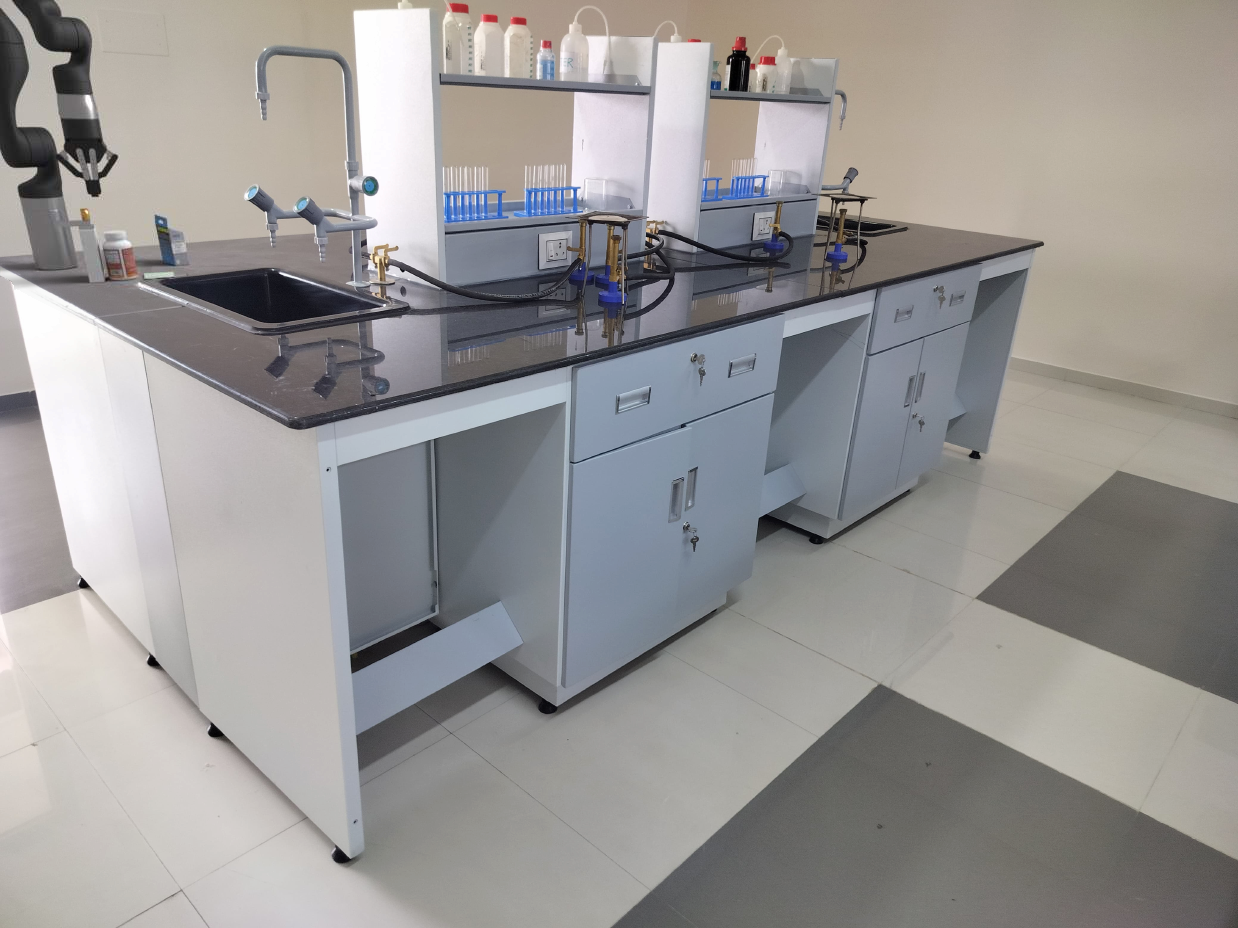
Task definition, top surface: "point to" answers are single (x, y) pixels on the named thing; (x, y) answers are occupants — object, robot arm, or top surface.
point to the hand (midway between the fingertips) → (95, 196)
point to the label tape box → (171, 243)
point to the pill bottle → (119, 256)
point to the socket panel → (92, 253)
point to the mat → (158, 275)
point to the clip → (83, 222)
